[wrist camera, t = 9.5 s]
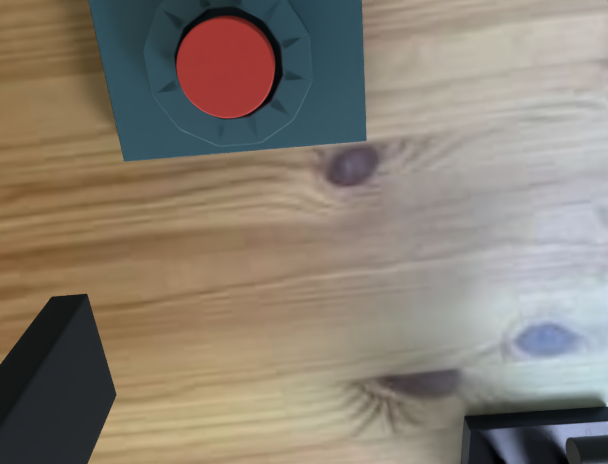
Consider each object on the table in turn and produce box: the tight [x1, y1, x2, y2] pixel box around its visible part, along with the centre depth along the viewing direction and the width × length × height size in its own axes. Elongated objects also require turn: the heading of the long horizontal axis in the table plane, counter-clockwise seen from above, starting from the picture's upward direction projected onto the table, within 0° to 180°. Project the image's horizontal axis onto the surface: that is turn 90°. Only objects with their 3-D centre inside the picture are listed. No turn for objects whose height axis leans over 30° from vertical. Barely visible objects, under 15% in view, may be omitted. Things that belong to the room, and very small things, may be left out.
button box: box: [88, 0, 366, 161], centre depth 23 cm, size 11×8×4 cm
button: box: [176, 15, 275, 118], centre depth 21 cm, size 4×4×2 cm
